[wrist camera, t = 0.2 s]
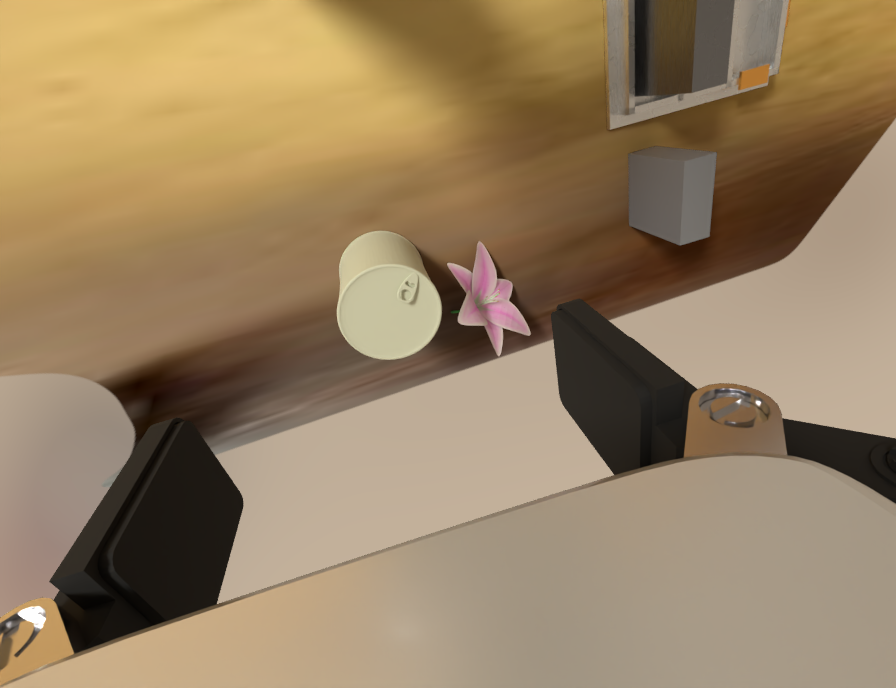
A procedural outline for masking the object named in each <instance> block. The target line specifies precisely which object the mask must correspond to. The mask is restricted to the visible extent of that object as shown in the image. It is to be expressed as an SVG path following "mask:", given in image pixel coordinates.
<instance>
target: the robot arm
mask: <svg viewBox="0 0 896 688" xmlns="http://www.w3.org/2000/svg"><path fill="white" fill-rule="evenodd" d="M551 320H552V330H553V339H554V348H555V358H556V367H557V376H558V386H559V394H560V398H561V401H562V404H563V406H564V407H565V409H566V410H567V411H568V413H569V414H570V415H571V417H572V418H573V419H574V421H575V422H576V423H577V425H578V426H579V428H580V429H581V430H582V432H583V433H584V434H585V436H586V437H587V438H588V440H589V441H590V443H591V444H592V445H593V446H594V448H595V449H596V450H597V452H598V453H599V455H600V456H601V457H602V459H603V460H604V461H605V463H606V464H607V466H608V467H609V468H610V469H611V471H612V472H613V474H614V476H611V477H607V478H604V479H600V480H597V481H594V482H591V483H588V484H585V485H582V486H579V487H575V488H572V489H569V490H565V491H562V492H559V493H556V494H552V495H549V496H546V497H543V498H540V499H537V500H534V501H531V502H527V503H524V504H521V505H519V506H515V507H512V508H509V509H506V510H503V511H500V512H497V513H493V514H490V515H487V516H484V517H481V518H478V519H475V520H472V521H468V522H465V523H462V524H459V525H456V526H453V527H450V528H447V529H444V530H440V531H438V532H435V533H431V534H428V535H426V536H422V537H419V538H416V539H413V540H410V541H407V542H404V543H401V544H398V545H395V546H392V547H388V548H386V549H382V550H379V551H376V552H373V553H370V554H367V555H364V556H361V557H358V558H355V559H352V560H349V561H346V562H343V563H340V564H337V565H334V566H331V567H328V568H325V569H322V570H319V571H315V572H312V573H310V574H306V575H303V576H300V577H297V578H294V579H292V580H288V581H285V582H282V583H279V584H277V585H274V586H270V587H267V588H264V589H262V590H258V591H255V592H252V593H249V594H246V595H243V596H240V597H238V598H234V599H231V600H229V601H226V602H223V603H219V604H217V601H218V597H219V593H220V590H221V586H222V582H223V579H224V575H225V571H226V568H227V564H228V561H229V557H230V553H231V550H232V546H233V542H234V539H235V535H236V532H237V528H238V524H239V521H240V517H241V513H242V509H243V498H242V495H241V493H240V491H239V490H238V488H237V487H236V486H235V484H234V483H233V481H232V480H231V478H230V477H229V475H228V474H227V473H226V471H225V470H224V468H223V467H222V465H221V464H220V462H219V461H218V459H217V458H216V457H215V455H214V454H213V452H212V451H211V449H210V448H209V446H208V445H207V443H206V442H205V441H204V439H203V438H202V436H201V435H200V433H199V432H198V430H197V429H196V427H195V426H194V425H193V424H192V423H191V422H190V421H184V420H182V419H181V418H174V419H171V420H167V421H164V422H160V423H157V424H154V425H151V426H150V427H149V429H148V430H147V432H146V433H145V435H144V436H143V438H142V439H141V441H140V443H139V444H138V446H137V447H136V449H135V450H134V452H133V453H132V455H131V456H130V458H129V459H128V461H127V463H126V464H125V466H124V467H123V469H122V470H121V472H120V473H119V475H118V476H117V478H116V479H115V481H114V483H113V484H112V486H111V487H110V489H109V490H108V492H107V494H106V495H105V496H104V498H103V500H102V501H101V503H100V504H99V506H98V507H97V509H96V510H95V512H94V513H93V515H92V516H91V518H90V520H89V521H88V523H87V524H86V526H85V527H84V529H83V530H82V532H81V533H80V535H79V537H78V538H77V540H76V541H75V543H74V544H73V546H72V547H71V549H70V550H69V552H68V554H67V555H66V557H65V558H64V560H63V561H62V563H61V564H60V566H59V567H58V569H57V570H56V572H55V573H54V575H53V577H52V578H51V580H50V582H51V583H52V584H53V585H54V586H55V587H57V588H58V589H59V590H60V591H59V592H58V594H57V596H56V597H55V599H54V600H53V599H51V598H39V599H34V600H30V601H28V602H26V603H24V604H22V605H20V606H18V607H16V608H14V609H13V610H11V611H10V612H8V613H6V614H5V615H3V616H2V617H0V688H896V439H895V438H890V437H884V436H878V435H873V434H867V433H862V432H856V431H850V430H845V429H839V428H834V427H827V426H822V425H816V424H811V423H806V422H800V421H794V420H788V419H783V418H782V414H781V411H780V408H779V406H778V405H777V403H776V402H775V401H774V400H773V399H771V397H769V396H767V395H766V394H764V393H762V392H761V391H758V390H756V389H753V388H750V387H747V386H742V385H737V384H724V383H723V384H721V383H720V384H712V385H708V386H705V387H702V388H700V389H696V388H695V387H694V386H693V385H691V384H690V383H689V382H688V381H686V380H685V379H684V378H683V377H681V376H680V375H679V374H677V373H676V372H675V371H674V370H672V369H671V368H670V367H668V366H667V365H666V364H665V363H663V362H662V361H661V360H660V359H658V358H657V357H656V356H654V355H653V354H652V353H651V352H649V351H648V350H647V349H645V348H644V347H643V346H642V345H640V344H639V343H638V342H637V341H635V340H634V339H633V338H631V337H629V336H627V335H626V334H624V333H623V332H622V331H621V330H620V329H618V328H617V327H616V326H614V325H613V324H612V323H611V322H609V321H608V320H607V319H606V318H604V317H603V316H602V315H601V314H599V313H598V312H597V311H595V310H594V309H593V308H592V307H590V306H589V305H588V304H587V303H585V302H584V301H583V300H581V299H576V300H573V301H569V302H566V303H563V304H559V305H558V306H557V311H555V312H552V314H551Z"/></svg>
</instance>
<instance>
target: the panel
mask: <svg viewBox="0 0 896 688" xmlns="http://www.w3.org/2000/svg"><path fill="white" fill-rule="evenodd" d="M716 157H717V152H710V151H700V150H690V149H680V148H670V147H660V146H654V147H650V148H647V149H643V150H640V151H636V152H633V153H629V154H628V159H629V226H632V227H634V228H637V229H639V230H642V231H644V232H647V233H649V234H652V235H655V236H657V237H660V238H662V239H665V240H667V241H670V242H672V243H675V244H677V245H684V244H687V243H690V242H694V241H697V240H700V239H704V238H707V237H709V235H710V224H711V213H712V201H713V190H714V179H715V168H716Z"/></svg>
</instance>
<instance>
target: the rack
mask: <svg viewBox="0 0 896 688" xmlns="http://www.w3.org/2000/svg"><path fill="white" fill-rule="evenodd" d="M790 2H791V0H603V15H604V46H605V76H606V107H607V130H611V129H615V128H618V127H622V126H625V125H629V124H632V123H636V122H640V121H643V120H647V119H650V118H654V117H657V116H661V115H664V114H668V113H671V112H675V111H679V110H682V109H686V108H689V107H693V106H696V105H700V104H703V103H707V102H710V101H714V100H718V99H721V98H725V97H728V96H732V95H735V94H739V93H742V92H746V91H749V90H753V89H757V88H760V87H764V86H767V85H768V80H769V76H771V75H774V74H778V72H779V65H780V58H781V51H782V44H783V37H784V30H785V27H787V22H788V16H789V9H790Z"/></svg>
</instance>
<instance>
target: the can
mask: <svg viewBox="0 0 896 688" xmlns="http://www.w3.org/2000/svg"><path fill="white" fill-rule="evenodd" d="M339 277H340V294H339V301H338V306H337V320H338V324H339V327H340V330H341V332H342V334H343V336H344V337H345V339H346V340H347V341H348V342H349V344H350V345H351V346H353V347H354V348H355V349H356V350H358V351H359V352H361V353H363V354H365V355H367V356H370V357H373V358H377V359H384V360H392V359H400V358H404V357H407V356H410V355H412V354H414V353H416V352H418V351H419V350H421V349H422V348H423V347H425V346H426V345H427V344H428V343H429V342H430V341H431V340H432V338H433V337H434V335H435V334H436V332H437V330H438V328H439V325H440V322H441V316H442V304H441V299H440V296H439V293H438V291H437V289H436V287H435V286H434V284H433V283H432V282H431V280H430V278H429V276H428V274H427V272H426V270H425V268H424V266H423V262H422V258H421V256H420V254H419V252H418V250H417V249H416V247H415V246H414V245H413V244H412V243H411V242H410V241H409V240H407V239H406V238H404V237H403V236H401V235H399V234H396V233H393V232H388V231H374V232H369V233H366V234H364V235H362V236H360V237H358V238H356V239H355V240H354V241H353V242H352V243H350V245H349V246H348V247H347V248H346V250H345V251H344V253H343V255H342V258H341V261H340V265H339Z"/></svg>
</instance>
